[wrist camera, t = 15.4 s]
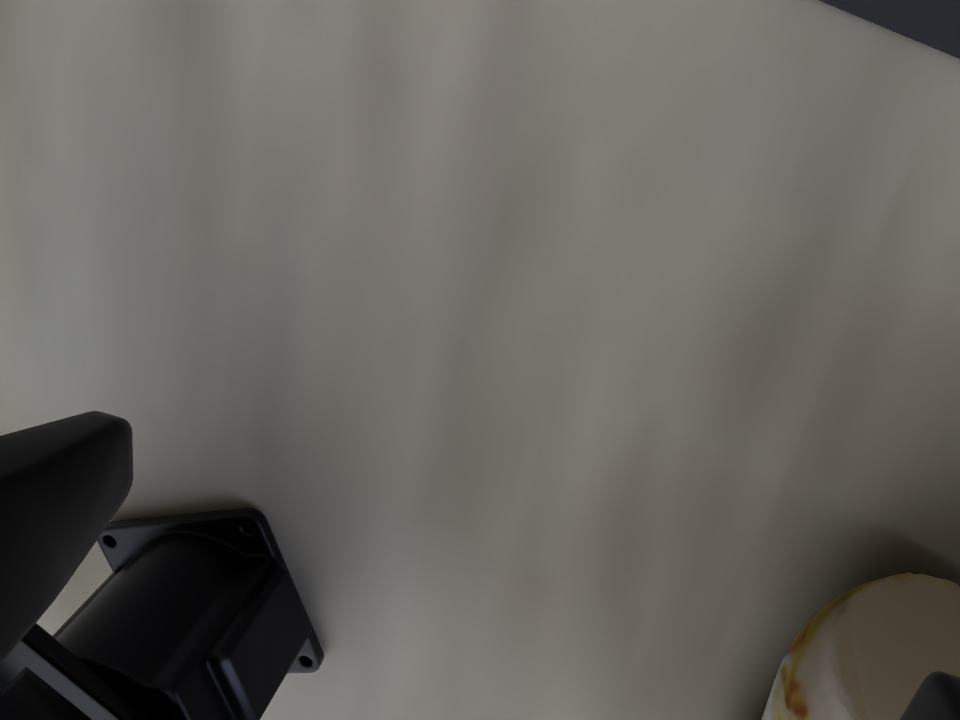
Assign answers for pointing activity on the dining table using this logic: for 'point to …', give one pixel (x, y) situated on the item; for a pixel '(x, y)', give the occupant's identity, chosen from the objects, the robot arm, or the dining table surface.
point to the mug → (869, 651)
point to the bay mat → (912, 19)
